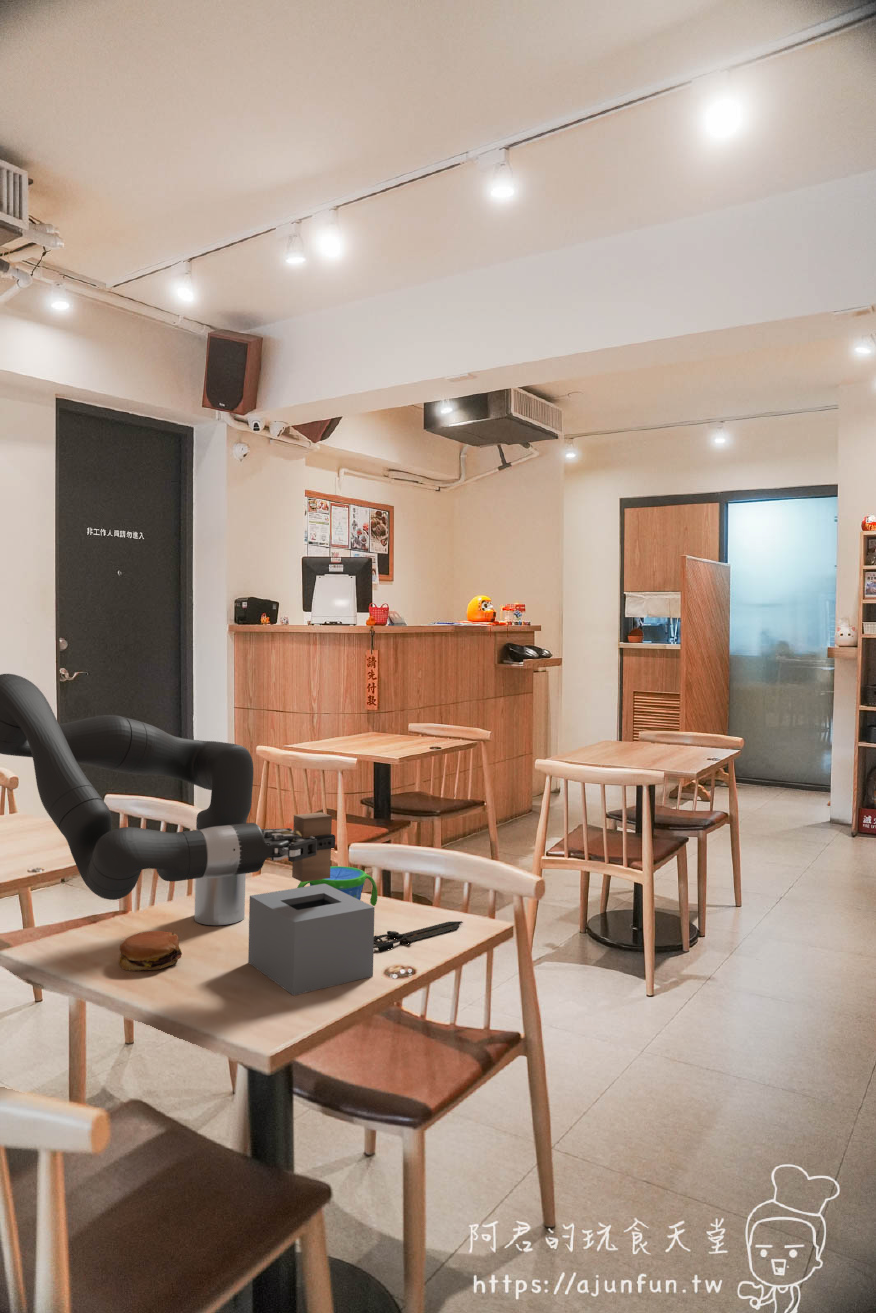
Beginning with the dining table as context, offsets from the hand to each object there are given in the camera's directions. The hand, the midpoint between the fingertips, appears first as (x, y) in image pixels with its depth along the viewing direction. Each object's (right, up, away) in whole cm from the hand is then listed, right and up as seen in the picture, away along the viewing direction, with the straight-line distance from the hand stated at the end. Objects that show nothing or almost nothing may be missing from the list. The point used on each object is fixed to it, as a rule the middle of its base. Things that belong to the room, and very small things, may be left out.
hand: (327, 838), depth 143 cm
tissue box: (-3, -21, -1) cm, 21 cm away
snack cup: (-1, -21, +20) cm, 29 cm away
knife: (+13, -22, +16) cm, 30 cm away
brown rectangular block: (-2, -6, -2) cm, 7 cm away
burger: (-29, -21, 0) cm, 35 cm away
